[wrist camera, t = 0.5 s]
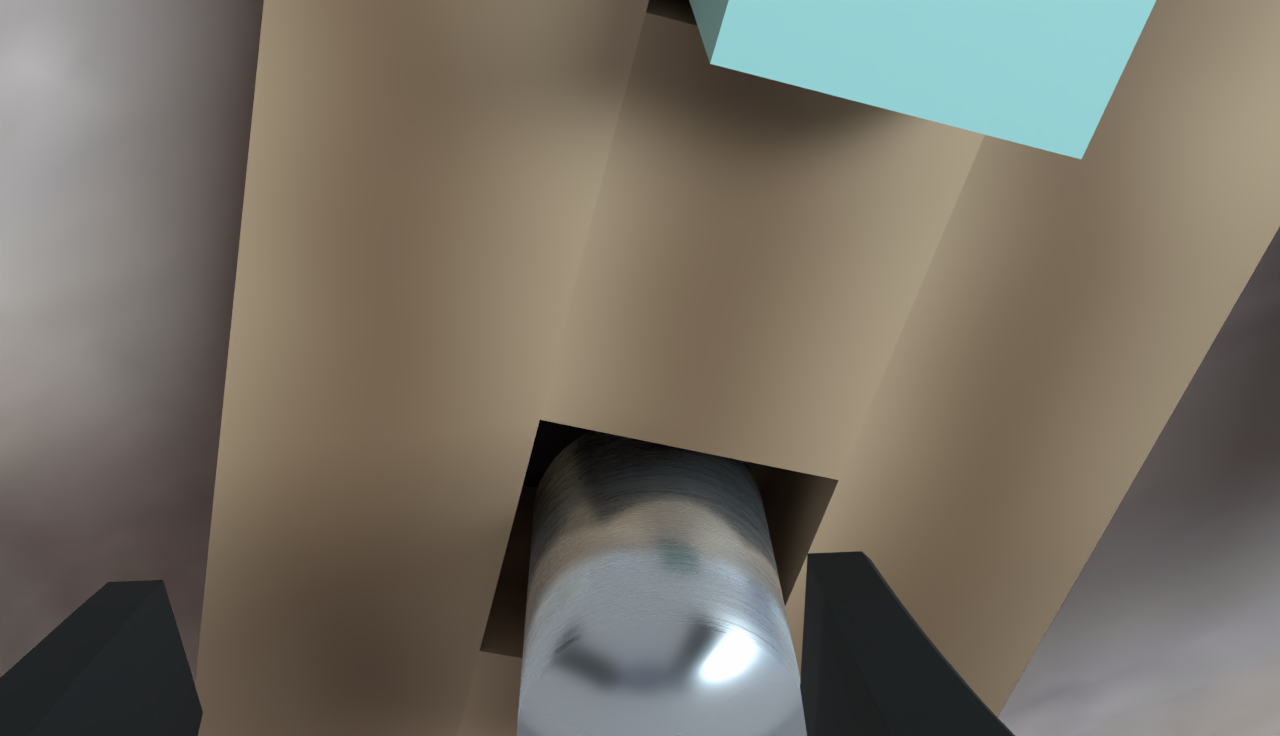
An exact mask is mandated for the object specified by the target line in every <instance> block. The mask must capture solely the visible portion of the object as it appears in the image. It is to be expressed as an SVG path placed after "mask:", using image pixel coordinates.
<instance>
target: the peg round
mask: <svg viewBox="0 0 1280 736" xmlns="http://www.w3.org/2000/svg"><path fill="white" fill-rule="evenodd" d="M517 736H807V732H806V725H805V718H804V711H803V704H802V697H801V690H800V675H799V670H798V665H797V661H796V656H795V651H794V647H793V642H792V637H791V633H790V628H789V623H788V619H787V614H786V609H785V604H784V600H783V595H782V590H781V586H780V581H779V576H778V572H777V567H776V562H775V558H774V553H773V548H772V544H771V539H770V534H769V530H768V525H767V520H766V515H765V511H764V506H763V501H762V497H761V492H760V487H759V484H758V482H757V479H756V476H755V474H754V472H753V470H752V468H751V467H750V465H749V463H748V462H747V461H742V460H737V459H732V458H727V457H722V456H717V455H712V454H707V453H702V452H697V451H692V450H687V449H682V448H678V447H673V446H668V445H663V444H658V443H653V442H648V441H643V440H638V439H633V438H628V437H623V436H618V435H613V434H608V433H603V432H598V431H594V430H591V431H589V432H587V433H586V434H584V435H582V436H581V437H579V438H577V439H576V440H574V441H573V442H572V443H570V444H569V445H568V446H567V447H565V448H564V449H563V450H562V451H561V452H560V453H559V454H558V455H557V456H556V457H555V458H554V460H553V461H552V462H551V464H550V465H549V466H548V468H547V469H546V471H545V473H544V475H543V476H542V478H541V480H540V483H539V486H538V489H537V491H536V496H535V502H534V511H533V525H532V538H531V551H530V564H529V577H528V591H527V604H526V617H525V630H524V643H523V657H522V670H521V683H520V696H519V709H518V723H517Z"/></svg>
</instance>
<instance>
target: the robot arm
mask: <svg viewBox="0 0 1280 736" xmlns="http://www.w3.org/2000/svg"><path fill="white" fill-rule="evenodd" d="M800 690H801V697H802V704H803V711H804V718H805V725H806V732H807V736H1015V735H1014V734H1013V733H1012V732H1011V731H1010V730H1009V729H1008V728H1007V727H1006V726H1005V725H1004V724H1003V723H1002V722H1001V721H1000V720H999V719H998V718H997V717H996V716H995V714H994V713H993V712H992V711H991V710H990V709H989V708H988V707H987V706H986V705H985V703H984V702H983V701H982V700H981V699H980V698H979V697H978V696H977V695H976V693H975V692H974V691H973V690H972V689H971V688H970V687H969V685H968V684H967V683H966V682H965V681H964V679H963V678H962V677H961V676H960V675H959V674H958V672H957V671H956V670H955V669H954V668H953V667H952V665H951V664H950V663H949V662H948V661H947V660H946V658H945V657H944V656H943V655H942V654H941V652H940V651H939V650H938V649H937V648H936V646H935V645H934V644H933V643H932V641H931V640H930V639H929V638H928V636H927V635H926V634H925V633H924V631H923V630H922V629H921V627H920V626H919V625H918V624H917V622H916V621H915V620H914V618H913V617H912V616H911V614H910V613H909V612H908V611H907V609H906V608H905V607H904V605H903V604H902V603H901V601H900V600H899V599H898V597H897V596H896V594H895V593H894V592H893V590H892V589H891V588H890V586H889V585H888V583H887V582H886V581H885V579H884V578H883V576H882V575H881V574H880V572H879V571H878V569H877V568H876V566H875V565H874V563H873V562H872V560H871V559H870V558H869V557H868V556H867V555H865V554H864V553H863V552H862V551H856V552H831V553H808V555H807V573H806V590H805V608H804V626H803V643H802V661H801V679H800ZM202 715H203V710H202V707H201V704H200V701H199V697H198V694H197V691H196V687H195V684H194V681H193V677H192V674H191V671H190V668H189V664H188V661H187V658H186V654H185V651H184V648H183V645H182V641H181V638H180V635H179V631H178V628H177V625H176V622H175V618H174V615H173V612H172V608H171V605H170V602H169V598H168V595H167V592H166V589H165V585H164V582H163V580H153V581H128V582H108V583H107V584H106V585H105V586H103V587H102V588H101V589H100V590H99V591H97V592H96V593H95V594H94V595H93V596H91V597H90V598H89V599H88V600H87V601H86V602H84V603H83V604H82V605H81V606H80V607H79V608H78V609H77V610H75V611H74V612H73V613H72V614H71V615H70V616H69V617H68V618H67V619H65V620H64V621H63V622H62V623H61V624H60V625H59V626H58V627H57V628H55V629H54V630H53V631H52V632H51V633H50V634H49V635H48V636H47V637H45V638H44V639H43V640H42V641H41V642H40V643H39V644H38V645H37V646H36V647H34V648H33V649H32V650H31V651H30V652H29V653H28V654H27V655H26V656H24V657H23V658H22V659H21V660H20V661H19V662H18V663H17V664H16V665H14V666H13V667H12V668H11V669H10V670H9V671H8V672H7V673H5V674H4V675H3V676H2V677H1V678H0V736H198V732H199V728H200V724H201V719H202Z"/></svg>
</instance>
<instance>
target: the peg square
mask: <svg viewBox="0 0 1280 736" xmlns="http://www.w3.org/2000/svg"><path fill="white" fill-rule="evenodd" d="M689 1H690V4H691V7H692V10H693V13H694V16H695V20H696V23H697V26H698V29H699V32H700V35H701V38H702V41H703V44H704V47H705V50H706V53H707V56H708V59H709V62H710V64H713V65H717V66H721V67H725V68H729V69H733V70H736V71H740V72H744V73H748V74H752V75H756V76H760V77H764V78H767V79H771V80H775V81H779V82H783V83H787V84H791V85H795V86H798V87H802V88H806V89H810V90H814V91H818V92H822V93H826V94H829V95H833V96H837V97H841V98H845V99H849V100H853V101H857V102H860V103H864V104H868V105H872V106H876V107H880V108H884V109H888V110H891V111H895V112H899V113H903V114H907V115H911V116H915V117H919V118H923V119H926V120H930V121H934V122H938V123H942V124H946V125H950V126H954V127H957V128H961V129H965V130H969V131H973V132H977V133H981V134H985V135H988V136H992V137H996V138H1000V139H1004V140H1008V141H1012V142H1016V143H1019V144H1023V145H1027V146H1031V147H1035V148H1039V149H1043V150H1047V151H1050V152H1054V153H1058V154H1062V155H1066V156H1070V157H1074V158H1078V159H1082V157H1083V155H1084V153H1085V151H1086V149H1087V147H1088V144H1089V142H1090V140H1091V138H1092V136H1093V134H1094V132H1095V130H1096V127H1097V125H1098V123H1099V121H1100V119H1101V117H1102V115H1103V113H1104V110H1105V108H1106V106H1107V104H1108V102H1109V100H1110V98H1111V96H1112V93H1113V91H1114V89H1115V87H1116V85H1117V83H1118V81H1119V79H1120V76H1121V74H1122V72H1123V70H1124V68H1125V66H1126V64H1127V62H1128V59H1129V57H1130V55H1131V53H1132V51H1133V49H1134V47H1135V45H1136V42H1137V40H1138V38H1139V36H1140V34H1141V32H1142V30H1143V28H1144V25H1145V23H1146V21H1147V19H1148V17H1149V15H1150V13H1151V11H1152V8H1153V6H1154V4H1155V2H1156V0H689Z"/></svg>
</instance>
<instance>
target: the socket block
mask: <svg viewBox="0 0 1280 736" xmlns="http://www.w3.org/2000/svg"><path fill="white" fill-rule="evenodd" d="M1279 227H1280V0H1156V2H1155V4H1154V6H1153V8H1152V11H1151V13H1150V15H1149V17H1148V19H1147V21H1146V23H1145V25H1144V28H1143V30H1142V32H1141V34H1140V36H1139V38H1138V40H1137V42H1136V45H1135V47H1134V49H1133V51H1132V53H1131V55H1130V57H1129V59H1128V62H1127V64H1126V66H1125V68H1124V70H1123V72H1122V74H1121V76H1120V79H1119V81H1118V83H1117V85H1116V87H1115V89H1114V91H1113V93H1112V96H1111V98H1110V100H1109V102H1108V104H1107V106H1106V108H1105V110H1104V113H1103V115H1102V117H1101V119H1100V121H1099V123H1098V125H1097V127H1096V130H1095V132H1094V134H1093V136H1092V138H1091V140H1090V142H1089V144H1088V147H1087V149H1086V151H1085V153H1084V155H1083V157H1082V159H1078V158H1074V157H1070V156H1066V155H1062V154H1058V153H1054V152H1050V151H1047V150H1043V149H1039V148H1035V147H1031V146H1027V145H1023V144H1019V143H1016V142H1012V141H1008V140H1004V139H1000V138H996V137H992V136H988V135H985V134H981V133H977V132H973V131H969V130H965V129H961V128H957V127H954V126H950V125H946V124H942V123H938V122H934V121H930V120H926V119H923V118H919V117H915V116H911V115H907V114H903V113H899V112H895V111H891V110H888V109H884V108H880V107H876V106H872V105H868V104H864V103H860V102H857V101H853V100H849V99H845V98H841V97H837V96H833V95H829V94H826V93H822V92H818V91H814V90H810V89H806V88H802V87H798V86H795V85H791V84H787V83H783V82H779V81H775V80H771V79H767V78H764V77H760V76H756V75H752V74H748V73H744V72H740V71H736V70H733V69H729V68H725V67H721V66H717V65H713V64H710V62H709V59H708V56H707V53H706V50H705V47H704V44H703V41H702V38H701V35H700V32H699V29H698V26H697V23H696V20H695V16H694V13H693V10H692V7H691V4H690V1H689V0H264V4H263V13H262V23H261V33H260V43H259V53H258V63H257V73H256V83H255V93H254V103H253V112H252V122H251V132H250V142H249V152H248V162H247V172H246V182H245V192H244V202H243V211H242V221H241V231H240V241H239V251H238V261H237V271H236V281H235V291H234V301H233V310H232V320H231V330H230V340H229V350H228V360H227V370H226V380H225V390H224V400H223V409H222V419H221V429H220V439H219V449H218V459H217V469H216V479H215V489H214V499H213V508H212V518H211V528H210V538H209V548H208V558H207V568H206V578H205V588H204V598H203V608H202V617H201V627H200V637H199V647H198V657H197V667H196V677H195V687H196V691H197V694H198V697H199V701H200V704H201V707H202V710H203V715H202V719H201V724H200V728H199V732H198V736H517V723H518V709H519V696H520V683H521V670H522V657H523V643H524V630H525V617H526V604H527V591H528V577H529V564H530V551H531V538H532V525H533V511H534V502H535V496H536V491H537V489H538V488H536V487H531V486H526V485H523V482H524V478H525V475H526V471H527V467H528V463H529V459H530V455H531V451H532V448H533V444H534V440H535V436H536V432H537V428H538V425H539V421H540V420H544V421H549V422H554V423H559V424H564V425H569V426H574V427H579V428H584V429H589V430H594V431H598V432H603V433H608V434H613V435H618V436H623V437H628V438H633V439H638V440H643V441H648V442H653V443H658V444H663V445H668V446H673V447H678V448H682V449H687V450H692V451H697V452H702V453H707V454H712V455H717V456H722V457H727V458H732V459H737V460H742V461H747V462H748V463H749V465H750V467H751V468H752V470H753V472H754V474H755V476H756V479H757V482H758V484H759V487H760V492H761V497H762V501H763V506H764V511H765V515H766V520H767V525H768V530H769V534H770V539H771V544H772V548H773V553H774V558H775V562H776V567H777V572H778V576H779V581H780V586H781V590H782V595H783V600H784V604H785V609H786V614H787V619H788V623H789V628H790V633H791V637H792V642H793V647H794V651H795V656H796V661H797V665H798V670H799V675H800V679H801V661H802V643H803V626H804V608H805V590H806V573H807V555H808V553H831V552H856V551H862V552H863V553H864V554H865V555H867V556H868V557H869V558H870V559H871V560H872V562H873V563H874V565H875V566H876V568H877V569H878V571H879V572H880V574H881V575H882V576H883V578H884V579H885V581H886V582H887V583H888V585H889V586H890V588H891V589H892V590H893V592H894V593H895V594H896V596H897V597H898V599H899V600H900V601H901V603H902V604H903V605H904V607H905V608H906V609H907V611H908V612H909V613H910V614H911V616H912V617H913V618H914V620H915V621H916V622H917V624H918V625H919V626H920V627H921V629H922V630H923V631H924V633H925V634H926V635H927V636H928V638H929V639H930V640H931V641H932V643H933V644H934V645H935V646H936V648H937V649H938V650H939V651H940V652H941V654H942V655H943V656H944V657H945V658H946V660H947V661H948V662H949V663H950V664H951V665H952V667H953V668H954V669H955V670H956V671H957V672H958V674H959V675H960V676H961V677H962V678H963V679H964V681H965V682H966V683H967V684H968V685H969V687H970V688H971V689H972V690H973V691H974V692H975V693H976V695H977V696H978V697H979V698H980V699H981V700H982V701H983V702H984V703H985V705H986V706H987V707H988V708H989V709H990V710H991V711H992V712H993V713H994V714H995V716H996V717H998V715H999V713H1000V711H1001V710H1002V708H1003V706H1004V704H1005V703H1006V701H1007V699H1008V698H1009V696H1010V694H1011V692H1012V691H1013V689H1014V687H1015V685H1016V684H1017V682H1018V680H1019V678H1020V677H1021V675H1022V673H1023V671H1024V670H1025V668H1026V666H1027V665H1028V663H1029V661H1030V659H1031V658H1032V656H1033V654H1034V652H1035V651H1036V649H1037V647H1038V645H1039V644H1040V642H1041V640H1042V638H1043V637H1044V635H1045V633H1046V632H1047V630H1048V628H1049V626H1050V625H1051V623H1052V621H1053V619H1054V618H1055V616H1056V614H1057V612H1058V611H1059V609H1060V607H1061V605H1062V604H1063V602H1064V600H1065V599H1066V597H1067V595H1068V593H1069V592H1070V590H1071V588H1072V586H1073V585H1074V583H1075V581H1076V579H1077V578H1078V576H1079V574H1080V572H1081V571H1082V569H1083V567H1084V566H1085V564H1086V562H1087V560H1088V559H1089V557H1090V555H1091V553H1092V552H1093V550H1094V548H1095V546H1096V545H1097V543H1098V541H1099V539H1100V538H1101V536H1102V534H1103V533H1104V531H1105V529H1106V527H1107V526H1108V524H1109V522H1110V520H1111V519H1112V517H1113V515H1114V513H1115V512H1116V510H1117V508H1118V506H1119V505H1120V503H1121V501H1122V499H1123V498H1124V496H1125V494H1126V493H1127V491H1128V489H1129V487H1130V486H1131V484H1132V482H1133V480H1134V479H1135V477H1136V475H1137V473H1138V472H1139V470H1140V468H1141V466H1142V465H1143V463H1144V461H1145V460H1146V458H1147V456H1148V454H1149V453H1150V451H1151V449H1152V447H1153V446H1154V444H1155V442H1156V440H1157V439H1158V437H1159V435H1160V433H1161V432H1162V430H1163V428H1164V427H1165V425H1166V423H1167V421H1168V420H1169V418H1170V416H1171V414H1172V413H1173V411H1174V409H1175V407H1176V406H1177V404H1178V402H1179V400H1180V399H1181V397H1182V395H1183V394H1184V392H1185V390H1186V388H1187V387H1188V385H1189V383H1190V381H1191V380H1192V378H1193V376H1194V374H1195V373H1196V371H1197V369H1198V367H1199V366H1200V364H1201V362H1202V361H1203V359H1204V357H1205V355H1206V354H1207V352H1208V350H1209V348H1210V347H1211V345H1212V343H1213V341H1214V340H1215V338H1216V336H1217V334H1218V333H1219V331H1220V329H1221V328H1222V326H1223V324H1224V322H1225V321H1226V319H1227V317H1228V315H1229V314H1230V312H1231V310H1232V308H1233V307H1234V305H1235V303H1236V301H1237V300H1238V298H1239V296H1240V295H1241V293H1242V291H1243V289H1244V288H1245V286H1246V284H1247V282H1248V281H1249V279H1250V277H1251V275H1252V274H1253V272H1254V270H1255V268H1256V267H1257V265H1258V263H1259V262H1260V260H1261V258H1262V256H1263V255H1264V253H1265V251H1266V249H1267V248H1268V246H1269V244H1270V242H1271V241H1272V239H1273V237H1274V235H1275V234H1276V232H1277V230H1278V229H1279Z"/></svg>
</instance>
